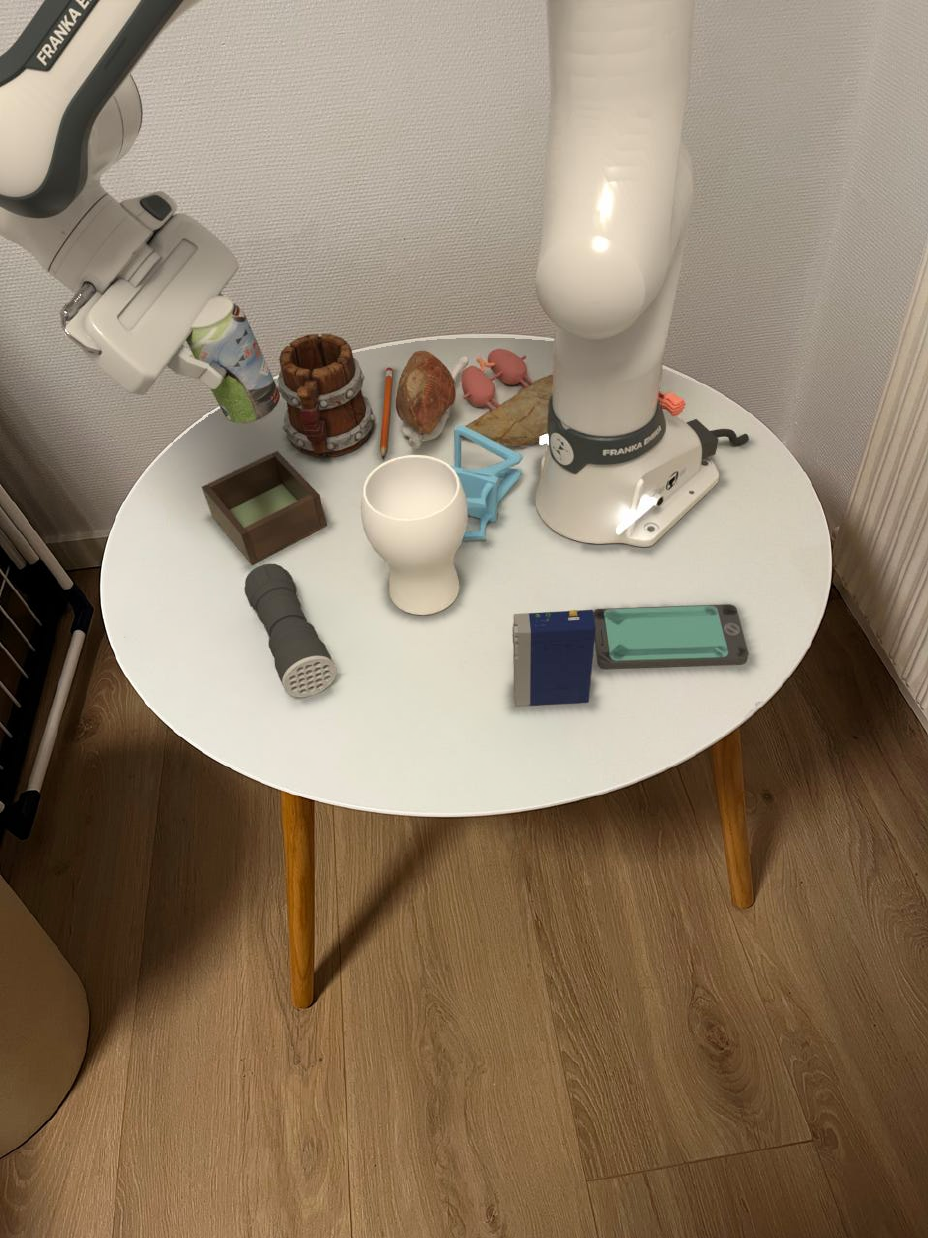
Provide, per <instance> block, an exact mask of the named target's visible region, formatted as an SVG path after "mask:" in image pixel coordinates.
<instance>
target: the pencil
mask: <svg viewBox="0 0 928 1238" xmlns="http://www.w3.org/2000/svg"><path fill="white" fill-rule="evenodd" d="M393 372H394V370H393V368H392V367H391V366H389V367H386V370H385V381H384V393H383V394H384V395H383V407H382V419H381V432H380V443H379V444H380V445H379V451H380V455H381V458H382V460H384V458H385V456H386V453H387V451H388V442H389V441H388V440H389V427H390V414H391V400H392V399H391V398H392V385H393Z"/></svg>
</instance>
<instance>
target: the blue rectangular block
mask: <svg viewBox="0 0 928 1238" xmlns="http://www.w3.org/2000/svg"><path fill="white" fill-rule="evenodd" d="M593 611H594V610H593V609H579V610H577V609H573V610H563V611H560V610H559V611H545V612H544V611H543V612H525V613H514V614H513V615H512V616H513V617H512V618H513V621H512V634H511V635H512V647H513V648H512V651H513V653H512V654H513V655H512V656H513V657H512V658H513V701H514V702H513V703H514V707H515V708H516V707H531V706H532V707H534V706H537V707H538V706H552V705H570V704H571V705H572V704H573V705H574V704H587V703H589V702H590V701H589V700H590V691H591V681H592V672H593V671H592V670H593V669H592V668H593V661H594V652H595V651H594V649H595V630H596V627H595V621H594V615H593Z"/></svg>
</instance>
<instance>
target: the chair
mask: <svg viewBox="0 0 928 1238" xmlns="http://www.w3.org/2000/svg"><path fill="white" fill-rule="evenodd" d="M465 426H466V425H462V424H457V425H456V426H455V428H454V430H453V448H454V449H453V453H454V454H453V455H454V457H453V458H454V461H453V462H454V465H450V464H448V465H449V466H451V467H452V468H453V469H454V470H455V472H456V474H457V475H458V477H459V479H460V482H461V484H462V487H463V489H464V492H465V495H466V500H467V511H468V516H470V517H474V518H477V519H480V522H479V530H474V531H465V533H464V536H463V539H462V542H467V541H468V542H469V541H475V540H476V541H477V540H481V541H482V540H483V541H484V540H486V528H487V525H488V523H489V522H490V523H495V522H496V521H497V519H498V505H499V503H500V502H501V501H502V499H503V498H504V497H505V495H506V494H507V493H509V491H510V489H511V488H512V487H513V486H514V485H515V483H516V482H517V481H518V480H519V479H520V478H521V476H522V471H521V470H520V469H517V468H512V467H514V466H517V465H519V464H520V463H521V461H522V460H523V459H524V457H523V455H522V454H521V453H519V452H517V451H514V450H512V449H510V448H507V447H506V446H504V445H503V444H500V443H499V442H494V441H492V440H490V439H488V438H487V437H485V436H483V435H481V434H479V433H477V432H475V431H473V430H471V429H469V428H467V427H465ZM461 435H462V436H464V437H466V438H465V439H468V440H469V441H471V442H473V443H474V444H476V445H478V446H480V447H481V448H484V449H485V450H486V451H488V452H490V453H492V454H494V455H496V456H497V457H499V458H501V459H503V460H501V461H499V462H497V463H495V464H492V465H490V466H487V467H484V468H474V469H473V468H462V437H461ZM499 480H502V481H500V483H499Z"/></svg>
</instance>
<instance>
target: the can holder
mask: <svg viewBox="0 0 928 1238" xmlns="http://www.w3.org/2000/svg"><path fill="white" fill-rule="evenodd" d="M201 490H202V493H203V496H204V498H205V502H206V504H207V507H208V509H209V512H210V514H211V517H212V519H213V520H214V521H215V523H216V524H217V526H218V527H220V528H221V530H222V531H223V532H224V534H225V535H226V536H227V537H228V538H229V540H230V541H231V542H232V543H233V545H234V546H235V547H236V549H237V550H238V551H239V552H240V553H241V554H242V555H243V557H244V558H245V559H246V561H248V563H249V564H250V565H251V566H254V565H256V564H257V563H259V562H262V561H263V560H265V559H267V558H269V557H271V556H273V555H274V554H276V553H279V552H280V551H282V550H284V549H286V548H288V547H290V546H292V545H294V544H296V543H297V542H299V541H301V540H303V539H305V538H307V537H309V536H311V535H313V534H314V533H317V532H318V531H320V530H322V529H324V528H326V527H328V524H327V523H328V522H327V520H326V516H325V511H324V508H323V502H322V497H321V494H320V493H319V492H318V491H317V490H316V489H315V488H314V487H313V486H312V485H311V484H310V483H309V482H308V481H307V480H306V479H305V477H303V476H302V474H301V473H299V471H297V469H295V467H294V466H293V465H292V464H291V463H290V462H289V461H288V460H287V459H286V458H285V457H284V456H283V455H282V453H280V452H279V451H278V450H276V451H273V452H271V453H269V454H267V455H265V456H263V457H260V458H258V459H256V460H254V461H252V462H250V463H247V464H246V465H244V466H241V467H239V468H238V469H235V470H234V471H232V472H229V473H227V474H225V475H222V476H221V477H219V478H216V479H215V480H213V481H210V482H208V483H207V484H204V485H202V486H201Z"/></svg>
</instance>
